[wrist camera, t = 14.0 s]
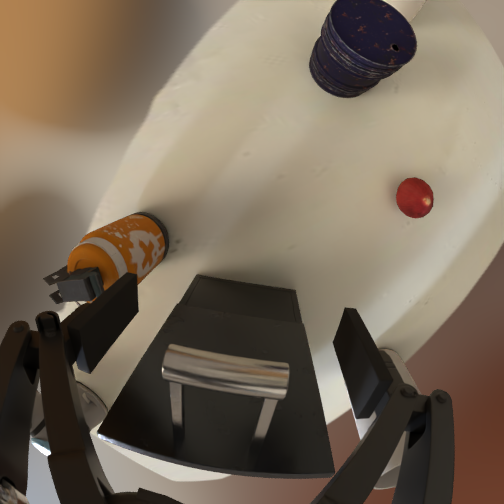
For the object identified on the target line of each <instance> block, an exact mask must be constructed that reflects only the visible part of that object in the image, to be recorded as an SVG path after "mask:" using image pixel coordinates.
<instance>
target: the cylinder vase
mask: <svg viewBox="0 0 504 504" xmlns="http://www.w3.org/2000/svg"><path fill="white" fill-rule="evenodd" d="M379 350H384V351H385V352H386V353H387V354H389V355H390V357H391V359H392V360H393V363H394V364H395V366H396V368H397V370H398V372H399V373H400V375H401V377H402V379H403V381H404V383H407V384H410V385H412V386H413V387H415V389H416V390H417V391H418V394H420V395H421V393H420V391H419V390H418V388H417V386H416V384H415V382H414V380H413V379H412V377H411V375H410V373H409V372H408V370H407V368H406V366H405V365H404V363H403V361H402V359H401V358H400V356H399V355H398V354H397V353H396V352H394V351H392V350H389V349H379ZM345 386H346V384H345ZM346 390H347V387H346ZM347 393H348V390H347ZM348 396H349V394H348ZM349 400H350V397H349ZM350 403H351V400H350ZM351 407H352V404H351ZM352 411H353V407H352ZM353 414H354V411H353ZM354 418H355V414H354ZM375 418H376V414H375V411H374V412H373V414H372V415H371V417H370V418H368V419H356V418H355V421H356V425H357V429H358V433H359V436H360V440H361V439H362V438H363V436H364V435H365V433H366V432H367V430H368V428H369V426H370V425H371V424H372V422H373V421H374V419H375ZM405 436H406V431H404V433H403V435H402V437H401V439H400V441H399V443H398V445H397V447H396V449H395V451H394V453H393V455H392V457H391V459H390V461H389V462H388V464H387V466H386V468H385V470H384V471H383V473H382V475H381V476H380V478H379V480H378V481H377V483H376V485H375V486H374V489H387V488H391V487H396V484H397V480H398V476H399V471H400V466H401V461H402V455H403V449H404V443H405Z"/></svg>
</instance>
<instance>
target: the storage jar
mask: <svg viewBox="0 0 504 504" xmlns="http://www.w3.org/2000/svg"><path fill="white" fill-rule="evenodd" d="M416 49H417V41H416V36H415V33H414V31H413V29H412V27H411V25H410V24H409V22H408V21H407V19H406V18H405V17H404V16H403V15H402V14H401V13H400V12H399V11H398V10H397V9H395V8H394V7H393V6H391V5H390V4H388V3H386V2H385V1H383V0H337V1H336V2H335V3H334V4H333V6H332V8H331V10H330V12H329V14H328V15H327V17H326V19H325V22H324V24H323V26H322V29H321V36H320V37H319V38H318V39H317V41H316V43H315V46H314V48H313V51H312V55H311V58H310V62H309V68H310V72H311V75H312V77H313V79H314V80H315V82H316V83H317V84H318V85H319V86H320V87H321V88H322V89H323V90H325V91H326V92H328V93H330V94H332V95H334V96H337V97H342V98H352V97H356V96H359V95H360V94H362V93H364V92H366V91H368V90H369V89H371V88H373V87H374V86H376V85H377V84H378V82H379V81H380V80H381V79H384V78H387V77H389V76H391V75H392V74H393V73H395V72H396V71H398V70H399V69H400V68H401V67H402V66H403V65H405V64H407V63H408V62H409V61H410V60H412V58H413V57H414V55H415V53H416Z"/></svg>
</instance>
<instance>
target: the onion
mask: <svg viewBox="0 0 504 504" xmlns="http://www.w3.org/2000/svg"><path fill="white" fill-rule="evenodd" d="M433 200H434V198H433V192H432V190H431V188H430V186H429V185H428V184H427V183H426V182H425V181H423V180H421V179H418V178H415V177H414V178H407V179H405V180H404V181H403V182H402V183H401V184H400V186H399V187H398V190H397V194H396V201H397V205H398V207H399V209H400V210H401V211H402V212H403V213H404V214H405V215H407V216H409V217H411V218H421V217H424V216H425V215H427V214H428V213H429V212H430V211H431V209H432V207H433Z"/></svg>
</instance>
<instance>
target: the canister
mask: <svg viewBox="0 0 504 504" xmlns="http://www.w3.org/2000/svg"><path fill="white" fill-rule="evenodd" d="M168 247H169V239H168V234H167V231H166V229H165V227H164V226H163V224H162V223H161V222H160V221H159V220H158V219H157V218H156V217H154V216H153V215H151V214H148V213H143V212H139V213H134V214H132V215H129V216H127V217H125V218H122V219H120V220H117V221H115V222H113V223H111V224H108V225H106V226H104V227H102V228H99V229H97V230H95V231H93V232H90V233H89V234H87V235H86V236H84V237H83V239H82V240H81V241H80V243H79V244H77V245H76V246H75V247H74V248H73V250H72V251H71V253H70V256H69V258H68V264H67V265H66V266H65V267H63V268H62V269H60V270H59V271H57V272H55V273H53V274H51V275H49V276H47V277H45V278H43V279H44V280H45V281H46V282H47V283H48V284H49V285H52V284H55V283H57V286H58V289H59V290H58V291H56V292H54V293H52V294H51V295H49V296H50V297H51V298H52V299H53V300H54V302H55V303H56V304H59V303H62V302H73V301H75V302H76V304H77V305H78V306H80V304H79V303H78V302H77V301H85V302H88V303H92V302H93V301H94V300H95V299H96V298H97V297H98V296H100V295H101V294H102V293H103V292H104V291H105V290H106V289H108V288H109V287H110V286H111V285H112V284H113V283H115V282H116V281H117V280H118V279H119V278H120V277H122V276H123V275H124V274H125V273H126V272H129V273H134V274H137V285H138V284H139V283H140V282H141V281H142V280H143V279H144V278H145V277H146V276H147V275H148V274H149V273H150V272H151V271H152V270H153V269H154V268H155V267H156V266H157V265H158V264H159V263H160V262H161V261H162V260H163V259H164V258H165V256H166V254H167V251H168ZM54 275H57V276H59V277H58V278H56V279H54V278H52V276H54ZM58 293H60V294H61V297H62V298H61V297H60V296H59V294H58Z"/></svg>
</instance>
